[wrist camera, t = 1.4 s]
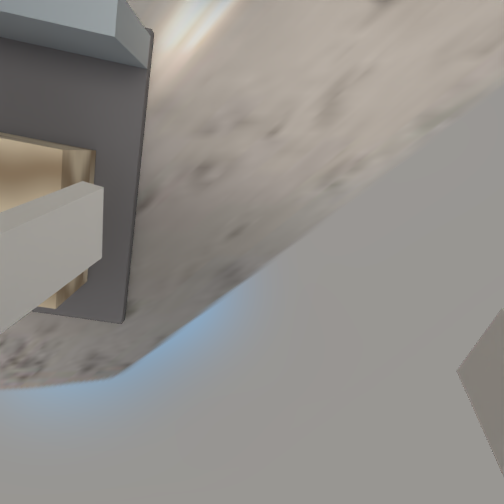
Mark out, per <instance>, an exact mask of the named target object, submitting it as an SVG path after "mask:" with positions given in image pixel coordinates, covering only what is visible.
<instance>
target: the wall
mask: <svg viewBox="0 0 504 504" xmlns="http://www.w3.org/2000/svg"><path fill="white" fill-rule="evenodd" d="M0 37H3V38H8V39H12V40H17V41H21V42H26V43H31V44H35V45H40V46H44V47H49V48H53V49H58V50H62V51H67V52H71V53H76V54H80V55H85V56H90V57H94V58H99V59H103V60H108V61H112V62H117V63H121V64H126V65H130V66H135V67H140V68H144V69H147V67H148V57H149V47H150V37H151V36H150V35H149V33H148V32H147V30H146V29H145V27H144V26H143V25H142V23H141V22H140V20H139V19H138V17H137V16H136V14H135V13H134V12H133V10H132V9H131V7H130V6H129V4H128V3H127V2H126V0H0Z"/></svg>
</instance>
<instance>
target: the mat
mask: <svg viewBox="0 0 504 504" xmlns="http://www.w3.org/2000/svg"><path fill="white" fill-rule="evenodd" d="M145 29H146V30H147V32H148V33H149V35H150V36H151V37H150V47H149V57H148V67H147V69H144V68H140V67H135V66H130V65H126V64H121V63H117V62H112V61H108V60H103V59H99V58H94V57H90V56H85V55H80V54H76V53H71V52H67V51H62V50H58V49H53V48H49V47H44V46H40V45H35V44H31V43H26V42H21V41H17V40H12V39H8V38H3V37H0V132H2V133H8V134H13V135H18V136H23V137H28V138H34V139H39V140H44V141H49V142H54V143H60V144H65V145H70V146H75V147H80V148H86V149H91V150H96V159H95V174H94V185H98V186H101V187H104V197H103V234H102V258H101V259H100V260H98V261H97V262H96V263H94V264H93V265H92V266H90V267H89V268H88V276H87V282H86V283H85V284H83V285H82V286H81V287H80V288H79V289H78V290H77V291H75V292H74V293H73V294H72V295H71V296H70V297H69V298H68V299H66V300H65V301H64V302H63V303H62V304H61V305H60V306H58V307H57V308H56V309H52V308H45V307H38V306H37V307H36V308H35V309H33V310H32V311H33V312H40V313H48V314H55V315H62V316H69V317H76V318H83V319H90V320H97V321H104V322H111V323H118V324H122V323H123V321H124V320H125V311H126V302H127V292H128V282H129V272H130V263H131V253H132V243H133V233H134V224H135V214H136V204H137V195H138V185H139V175H140V165H141V156H142V146H143V136H144V126H145V117H146V107H147V97H148V88H149V78H150V68H151V58H152V49H153V39H154V33H153V31H152V29H148V28H145Z"/></svg>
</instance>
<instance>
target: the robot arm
mask: <svg viewBox="0 0 504 504" xmlns="http://www.w3.org/2000/svg"><path fill="white" fill-rule="evenodd" d="M103 197H104V187H101V186H98V185H94V184H91V183H88V182H84V181H81V182H79V183H76V184H73V185H71V186H68V187H66V188H63V189H60V190H58V191H55V192H53V193H50V194H47V195H45V196H42V197H40V198H37V199H34V200H32V201H29V202H26V203H24V204H21V205H19V206H16V207H13V208H11V209H8V210H6V211H3V212H0V334H1V333H3V332H4V331H5V330H7V329H8V328H9V327H11V326H12V325H13V324H15V323H16V322H17V321H19V320H20V319H21V318H23V317H24V316H25V315H27V314H28V313H29V312H31V311H32V310H33V309H35V308H36V307H37V306H39V305H40V304H41V303H43V302H44V301H45V300H47V299H48V298H49V297H51V296H52V295H53V294H55V293H56V292H57V291H58V290H60V289H61V288H62V287H64V286H65V285H66V284H68V283H69V282H70V281H72V280H73V279H74V278H76V277H77V276H78V275H80V274H81V273H82V272H84V271H85V270H86V269H88V268H89V267H90V266H92V265H93V264H94V263H96V262H97V261H98V260H100V259H101V258H102V234H103ZM457 373H458V375H459V378H460V379H461V382H462V384H463V387H464V389H465V391H466V393H467V396H468V398H469V400H470V402H471V404H472V407H473V409H474V411H475V414H476V416H477V418H478V420H479V422H480V425H481V427H482V429H483V431H484V434H485V436H486V438H487V440H488V443H489V445H490V447H491V449H492V452H493V454H494V456H495V458H496V461H497V463H498V465H499V467H500V469H501V472H502V474H503V476H504V308H502V309H501V310H500V311H499V313H498V314H497V316H496V317H495V318H494V320H493V321H492V323H491V324H490V325H489V327H488V328H487V329H486V331H485V332H484V334H483V335H482V336H481V338H480V339H479V340H478V342H477V343H476V345H475V346H474V347H473V349H472V350H471V351H470V353H469V354H468V356H467V357H466V358H465V360H464V361H463V362H462V364H461V365H460V367H459V368H458V370H457Z"/></svg>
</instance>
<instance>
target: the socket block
mask: <svg viewBox="0 0 504 504" xmlns="http://www.w3.org/2000/svg"><path fill="white" fill-rule="evenodd" d="M95 159H96V150H91V149H86V148H80V147H75V146H70V145H65V144H60V143H54V142H49V141H44V140H39V139H34V138H28V137H23V136H18V135H13V134H8V133H2V132H0V212H3V211H6V210H8V209H11V208H13V207H16V206H19V205H21V204H24V203H26V202H29V201H32V200H34V199H37V198H40V197H42V196H45V195H47V194H50V193H53V192H55V191H58V190H60V189H63V188H66V187H68V186H71V185H73V184H76V183H79V182H81V181H84V182H88V183H91V184H94V174H95ZM87 276H88V269H86V270H85V271H84V272H82V273H81V274H80V275H78V276H77V277H76V278H74V279H73V280H72V281H70V282H69V283H68V284H66V285H65V286H64V287H62V288H61V289H60V290H58V291H57V292H56V293H55V294H53V295H52V296H51V297H49V298H48V299H47V300H45V301H44V302H43V303H41V304H40V305H39V306H38V307H45V308H52V309H56V308H57V307H58V306H60V305H61V304H62V303H63V302H64V301H65V300H66V299H68V298H69V297H70V296H71V295H72V294H73V293H74V292H75V291H77V290H78V289H79V288H80V287H81V286H82V285H83V284H85V283H86V282H87Z"/></svg>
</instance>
